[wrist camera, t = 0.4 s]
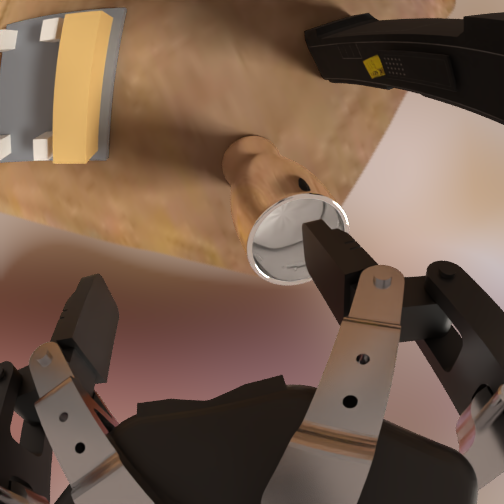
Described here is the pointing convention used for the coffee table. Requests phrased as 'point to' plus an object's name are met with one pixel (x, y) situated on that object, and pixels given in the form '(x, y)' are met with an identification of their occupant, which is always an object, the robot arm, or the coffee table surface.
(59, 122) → the bar
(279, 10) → the coffee table surface
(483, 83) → the portable radio
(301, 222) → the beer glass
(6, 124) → the board
